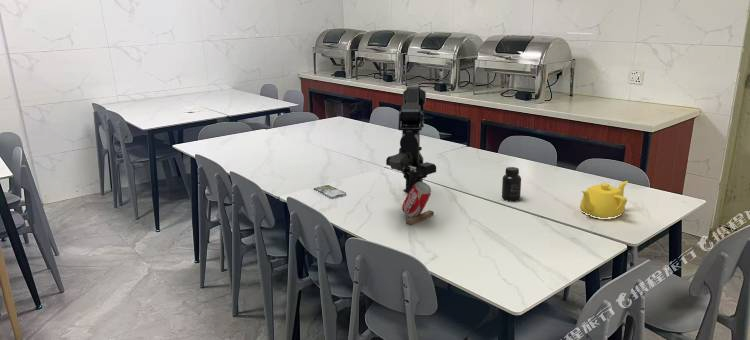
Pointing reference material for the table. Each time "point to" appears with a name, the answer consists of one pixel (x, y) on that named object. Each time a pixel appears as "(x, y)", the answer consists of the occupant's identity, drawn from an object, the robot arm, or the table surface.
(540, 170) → the table surface
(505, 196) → the supplement bottle
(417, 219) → the bar
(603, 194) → the teapot
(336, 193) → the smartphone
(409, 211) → the soda can
